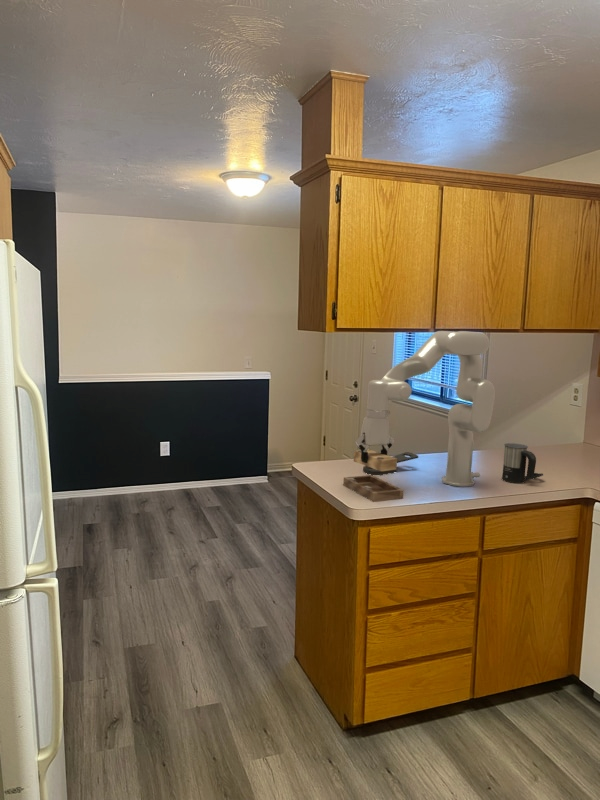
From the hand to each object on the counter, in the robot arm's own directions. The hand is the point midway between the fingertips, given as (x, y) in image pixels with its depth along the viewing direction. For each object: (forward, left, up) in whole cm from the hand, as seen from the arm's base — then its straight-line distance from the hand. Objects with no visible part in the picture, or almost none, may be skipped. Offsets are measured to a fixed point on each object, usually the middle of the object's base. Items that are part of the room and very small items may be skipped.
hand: (373, 461), depth 221 cm
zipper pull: (-24, -24, -12) cm, 36 cm away
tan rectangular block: (0, +1, -1) cm, 1 cm away
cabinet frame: (0, 0, -11) cm, 11 cm away
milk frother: (-69, +5, -12) cm, 70 cm away
